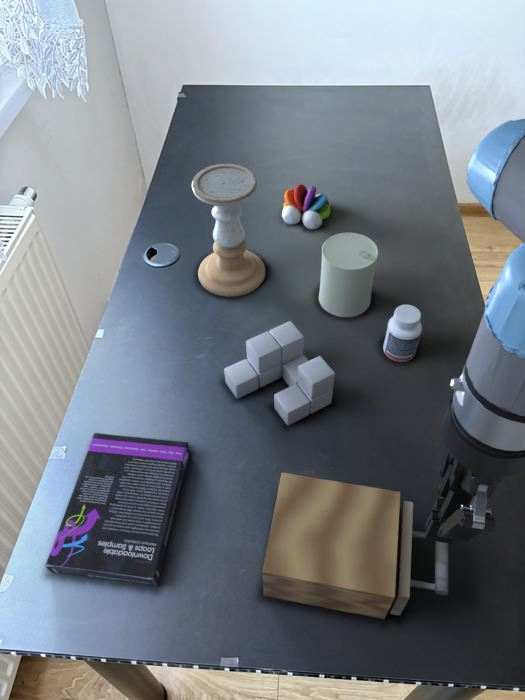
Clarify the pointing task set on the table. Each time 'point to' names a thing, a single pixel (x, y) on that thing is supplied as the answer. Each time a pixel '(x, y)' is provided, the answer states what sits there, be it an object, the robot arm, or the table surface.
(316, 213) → the rainbow petal toy
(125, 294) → the table surface
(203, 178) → the candle holder
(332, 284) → the can
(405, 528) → the drawer
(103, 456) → the box
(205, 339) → the table surface
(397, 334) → the pill bottle
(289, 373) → the grey cube puzzle piece
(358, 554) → the cabinet
